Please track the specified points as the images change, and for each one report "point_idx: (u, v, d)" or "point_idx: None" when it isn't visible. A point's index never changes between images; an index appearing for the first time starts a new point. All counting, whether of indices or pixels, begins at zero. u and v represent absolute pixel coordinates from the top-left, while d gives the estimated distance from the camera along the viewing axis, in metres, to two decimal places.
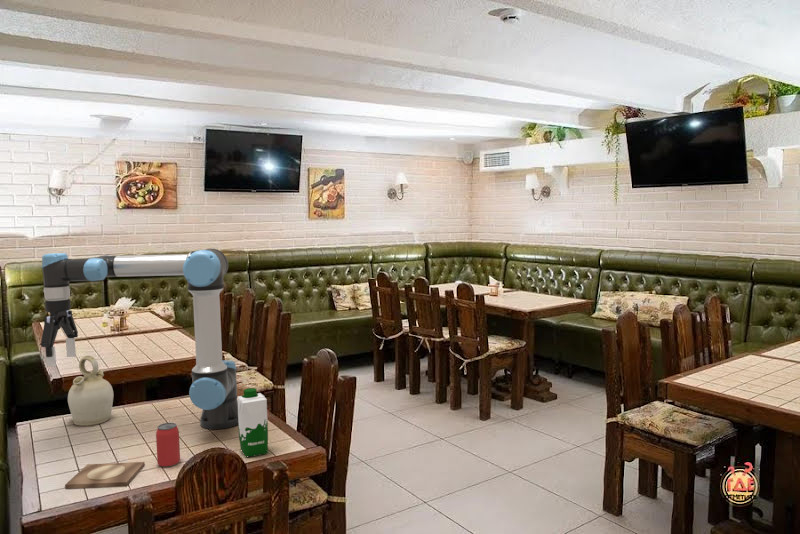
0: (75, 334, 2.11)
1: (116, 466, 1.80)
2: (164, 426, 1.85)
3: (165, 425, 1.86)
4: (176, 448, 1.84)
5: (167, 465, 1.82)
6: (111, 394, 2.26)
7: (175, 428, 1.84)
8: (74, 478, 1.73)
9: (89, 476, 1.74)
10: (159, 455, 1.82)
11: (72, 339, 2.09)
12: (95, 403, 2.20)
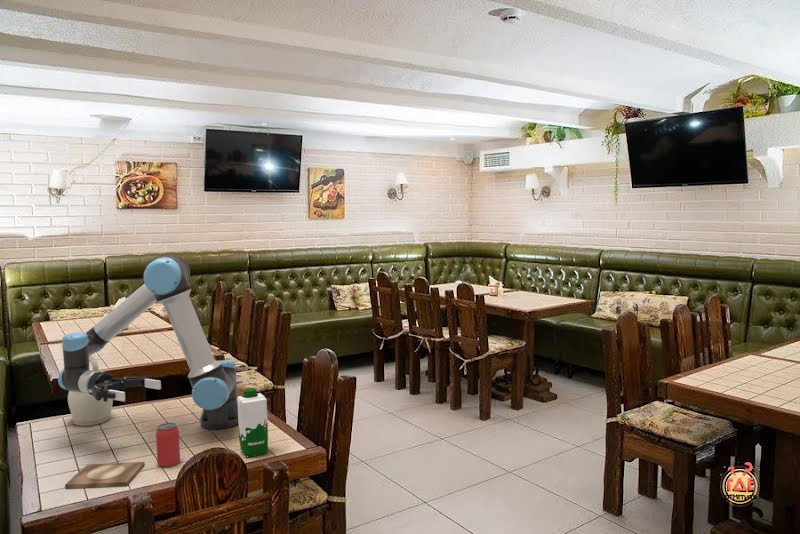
0: None
1: (116, 466, 1.80)
2: (164, 426, 1.85)
3: (165, 425, 1.86)
4: (176, 448, 1.84)
5: (167, 465, 1.82)
6: None
7: (175, 428, 1.84)
8: (74, 478, 1.73)
9: (89, 476, 1.74)
10: (159, 455, 1.82)
11: (145, 380, 1.96)
12: (95, 403, 2.20)
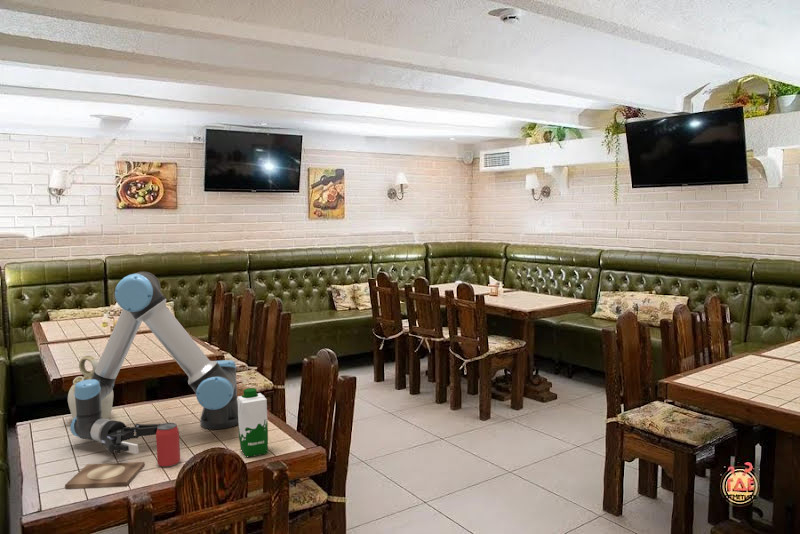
0: None
1: (116, 466, 1.80)
2: (164, 426, 1.85)
3: (165, 425, 1.86)
4: (176, 448, 1.84)
5: (167, 465, 1.82)
6: (111, 394, 2.26)
7: (175, 428, 1.84)
8: (74, 478, 1.73)
9: (89, 476, 1.74)
10: (159, 455, 1.82)
11: None
12: None
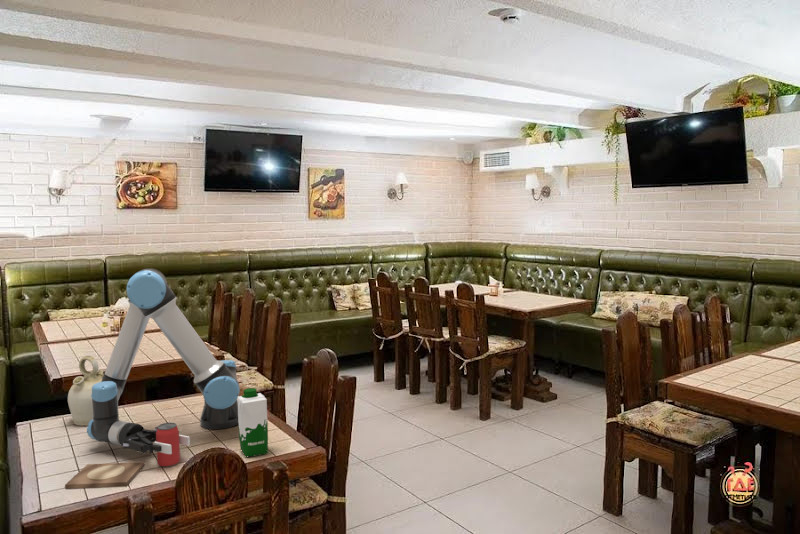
0: None
1: (116, 466, 1.80)
2: (164, 426, 1.85)
3: (165, 425, 1.86)
4: (176, 448, 1.84)
5: (167, 465, 1.82)
6: None
7: (175, 428, 1.84)
8: (74, 478, 1.73)
9: (89, 476, 1.74)
10: (159, 455, 1.82)
11: None
12: None
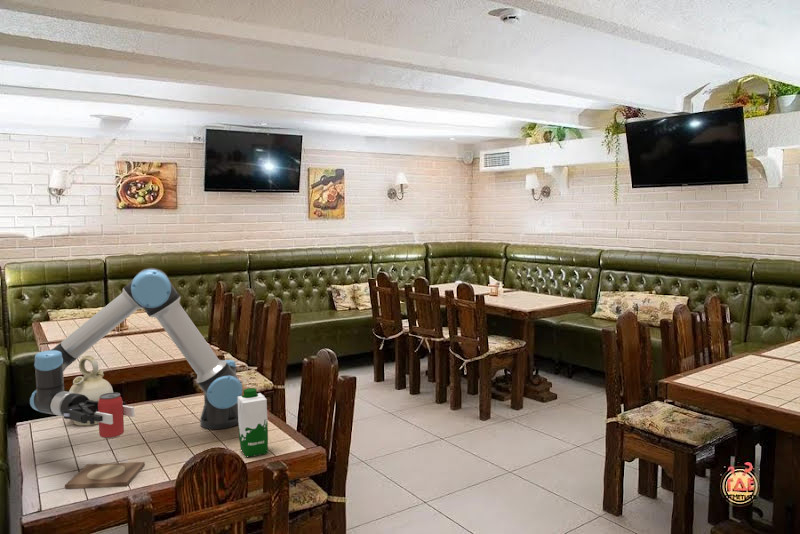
0: None
1: (116, 466, 1.80)
2: (107, 396, 1.76)
3: (108, 395, 1.77)
4: (119, 419, 1.75)
5: (109, 436, 1.74)
6: None
7: (118, 398, 1.75)
8: (74, 478, 1.73)
9: (89, 476, 1.74)
10: (100, 425, 1.74)
11: None
12: None
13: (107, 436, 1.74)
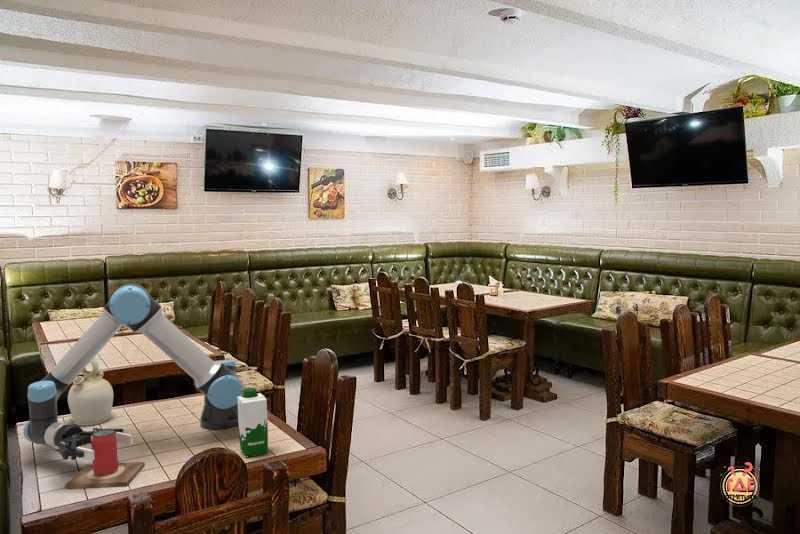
0: None
1: None
2: (100, 433, 1.76)
3: (102, 432, 1.77)
4: (113, 456, 1.75)
5: (103, 474, 1.73)
6: (111, 394, 2.26)
7: (112, 435, 1.75)
8: (74, 478, 1.73)
9: (89, 476, 1.74)
10: (94, 463, 1.73)
11: (116, 434, 1.82)
12: (95, 403, 2.20)
13: (101, 474, 1.73)
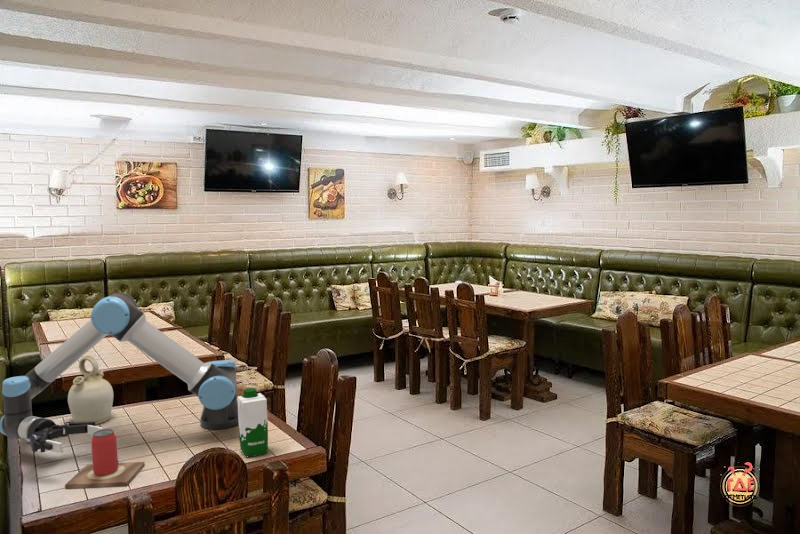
0: None
1: None
2: (100, 433, 1.76)
3: (102, 432, 1.77)
4: (113, 456, 1.75)
5: (103, 474, 1.73)
6: (111, 394, 2.26)
7: (112, 435, 1.75)
8: (74, 478, 1.73)
9: (89, 476, 1.74)
10: (94, 463, 1.73)
11: (88, 427, 1.89)
12: (95, 403, 2.20)
13: (101, 474, 1.73)
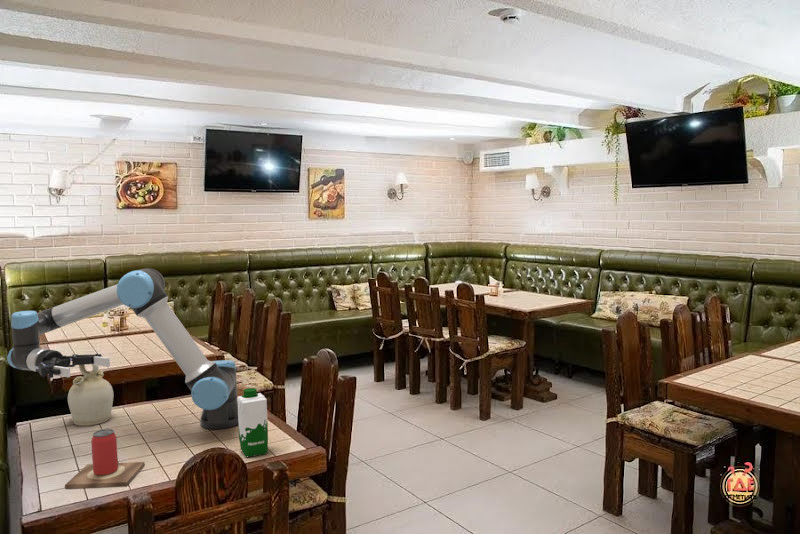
0: None
1: None
2: (100, 433, 1.76)
3: (102, 432, 1.77)
4: (113, 456, 1.75)
5: (103, 474, 1.73)
6: (111, 394, 2.26)
7: (112, 435, 1.75)
8: (74, 478, 1.73)
9: (89, 476, 1.74)
10: (94, 463, 1.73)
11: (94, 358, 1.94)
12: (95, 403, 2.20)
13: (101, 474, 1.73)
